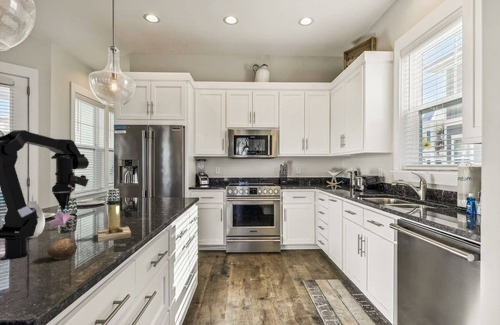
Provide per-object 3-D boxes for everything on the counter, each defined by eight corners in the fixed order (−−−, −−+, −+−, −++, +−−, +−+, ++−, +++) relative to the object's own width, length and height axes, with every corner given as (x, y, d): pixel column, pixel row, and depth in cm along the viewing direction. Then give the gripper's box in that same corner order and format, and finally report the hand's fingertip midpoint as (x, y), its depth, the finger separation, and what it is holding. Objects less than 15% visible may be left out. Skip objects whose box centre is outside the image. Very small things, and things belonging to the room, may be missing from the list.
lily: (79, 227, 131) (71, 211, 131) (79, 222, 122) (71, 206, 123) (53, 238, 123) (45, 221, 124) (51, 234, 115) (43, 216, 116)
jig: (131, 237, 109) (131, 232, 109) (98, 241, 103) (97, 236, 103) (128, 230, 119) (128, 226, 119) (98, 234, 113) (98, 230, 113)
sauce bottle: (49, 235, 112) (48, 194, 112) (29, 241, 105) (29, 196, 104) (36, 234, 114) (35, 193, 114) (15, 239, 107) (15, 196, 107)
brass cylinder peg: (118, 237, 110) (118, 206, 110) (107, 237, 108) (106, 206, 108) (121, 234, 114) (120, 204, 114) (110, 235, 113) (109, 205, 113)
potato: (53, 244, 90) (57, 231, 88) (78, 250, 93) (82, 238, 91) (40, 262, 83) (44, 249, 81) (67, 268, 86) (71, 256, 84)
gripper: (86, 170, 104) (86, 208, 104) (88, 168, 120) (88, 202, 120) (51, 170, 99) (52, 211, 99) (58, 169, 115) (59, 204, 115)
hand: (65, 207), depth 108 cm, fingers open, 9 cm apart
